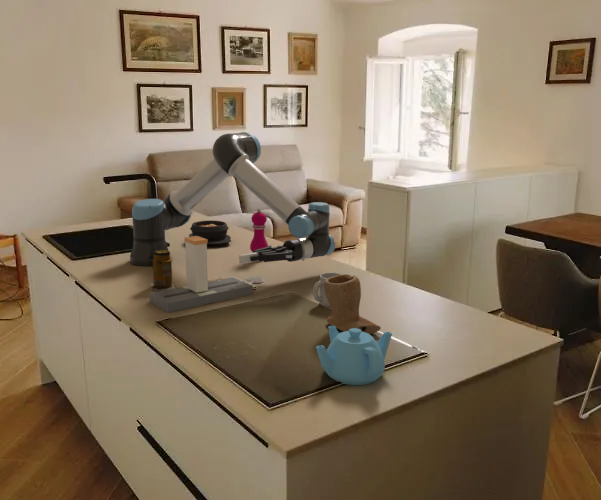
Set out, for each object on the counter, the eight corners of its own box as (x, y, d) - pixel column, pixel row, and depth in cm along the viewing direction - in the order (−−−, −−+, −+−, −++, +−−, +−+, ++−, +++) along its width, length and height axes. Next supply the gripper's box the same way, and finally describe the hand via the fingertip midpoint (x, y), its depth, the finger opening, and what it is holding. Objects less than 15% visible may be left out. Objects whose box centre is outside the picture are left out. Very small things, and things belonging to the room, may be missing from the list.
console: (232, 285, 201) (232, 276, 200) (252, 293, 192) (252, 285, 191) (149, 301, 183) (149, 292, 182) (167, 312, 174) (167, 303, 173)
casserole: (241, 245, 258) (241, 226, 256) (201, 250, 249) (201, 230, 247) (217, 234, 279) (216, 217, 277) (179, 238, 269) (178, 220, 267)
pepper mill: (269, 256, 240) (269, 207, 236) (266, 260, 233) (266, 210, 229) (251, 255, 241) (251, 206, 236) (248, 259, 234) (248, 209, 229)
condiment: (172, 282, 203) (170, 248, 200) (175, 289, 195) (174, 254, 193) (150, 284, 201) (148, 249, 198) (153, 291, 193) (151, 255, 190)
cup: (347, 305, 183) (348, 277, 180) (319, 310, 178) (319, 281, 176) (334, 298, 189) (335, 271, 187) (307, 303, 184) (307, 275, 182)
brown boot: (315, 323, 167) (316, 272, 163) (351, 317, 172) (352, 267, 168) (343, 342, 154) (345, 287, 150) (381, 335, 159) (384, 281, 155)
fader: (198, 285, 189) (197, 235, 185) (208, 290, 184) (207, 239, 181) (185, 287, 186) (184, 237, 183) (196, 292, 182) (194, 241, 178)
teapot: (311, 383, 131) (312, 337, 128) (328, 356, 145) (329, 315, 142) (379, 394, 127) (382, 346, 124) (390, 365, 141) (393, 322, 138)
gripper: (308, 264, 204) (251, 275, 190) (285, 256, 214) (229, 266, 199) (309, 242, 202) (251, 252, 188) (285, 235, 212) (229, 244, 198)
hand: (240, 259), depth 194 cm, fingers closed
